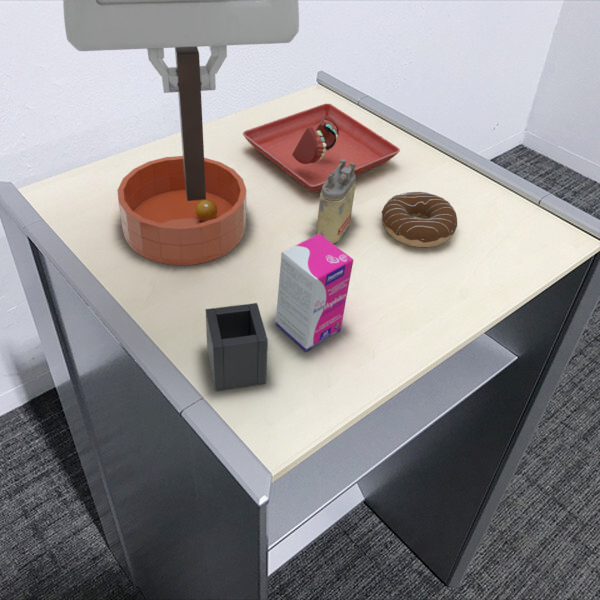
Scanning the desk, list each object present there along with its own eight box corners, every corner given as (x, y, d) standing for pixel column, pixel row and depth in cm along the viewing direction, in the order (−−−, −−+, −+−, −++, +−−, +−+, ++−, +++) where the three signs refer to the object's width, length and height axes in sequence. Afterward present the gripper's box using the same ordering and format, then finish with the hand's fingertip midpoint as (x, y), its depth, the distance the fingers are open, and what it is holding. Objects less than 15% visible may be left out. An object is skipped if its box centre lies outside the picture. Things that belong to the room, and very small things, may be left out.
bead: (197, 226, 91) (196, 209, 89) (194, 213, 93) (193, 196, 91) (219, 224, 91) (218, 206, 89) (215, 211, 94) (215, 194, 91)
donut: (436, 263, 90) (443, 240, 87) (366, 234, 93) (370, 211, 90) (465, 224, 96) (472, 201, 94) (399, 199, 100) (403, 176, 97)
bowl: (127, 272, 85) (121, 234, 80) (120, 196, 96) (114, 160, 92) (255, 258, 88) (256, 221, 84) (234, 186, 100) (234, 151, 95)
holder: (215, 391, 72) (213, 347, 67) (207, 353, 76) (205, 309, 71) (266, 383, 73) (267, 340, 68) (256, 346, 77) (257, 302, 72)
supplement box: (307, 354, 76) (315, 279, 69) (274, 324, 79) (277, 250, 72) (343, 331, 79) (355, 257, 71) (310, 303, 82) (317, 230, 75)
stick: (187, 201, 71) (176, 53, 60) (185, 190, 72) (174, 44, 61) (206, 199, 71) (199, 53, 60) (203, 189, 72) (196, 43, 61)
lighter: (334, 247, 91) (342, 185, 84) (309, 239, 92) (315, 177, 85) (353, 220, 96) (362, 159, 89) (329, 212, 97) (336, 151, 90)
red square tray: (310, 205, 97) (312, 186, 95) (240, 149, 107) (240, 131, 105) (399, 168, 106) (402, 149, 104) (326, 119, 116) (328, 102, 113)
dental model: (334, 154, 104) (309, 175, 98) (313, 137, 104) (287, 158, 98) (350, 126, 99) (324, 147, 94) (328, 109, 100) (301, 129, 94)
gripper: (296, -84, 58) (288, 69, 67) (49, -84, 54) (78, 79, 63) (313, -62, 54) (303, 98, 63) (46, -60, 49) (78, 111, 59)
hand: (188, 89), depth 63 cm, fingers closed on stick, 2 cm apart
